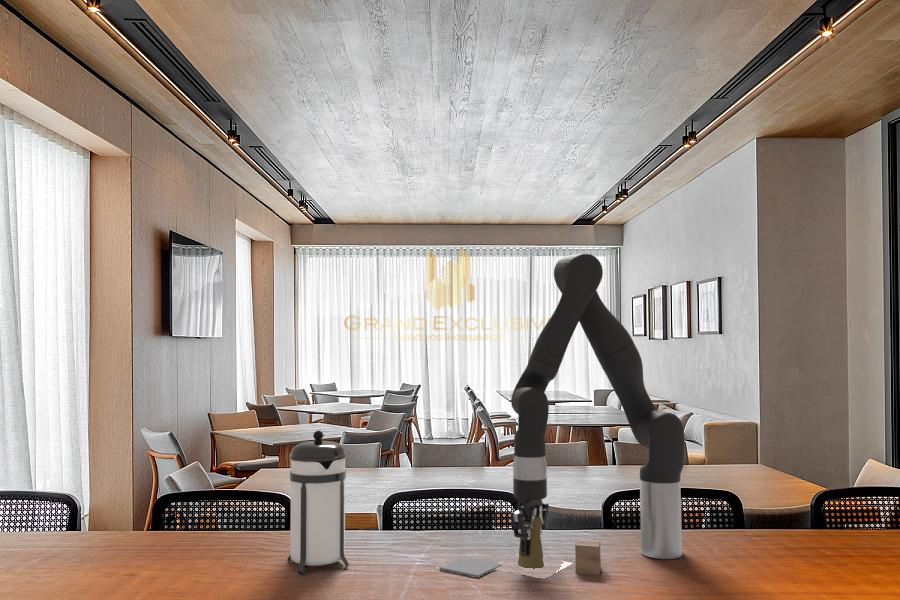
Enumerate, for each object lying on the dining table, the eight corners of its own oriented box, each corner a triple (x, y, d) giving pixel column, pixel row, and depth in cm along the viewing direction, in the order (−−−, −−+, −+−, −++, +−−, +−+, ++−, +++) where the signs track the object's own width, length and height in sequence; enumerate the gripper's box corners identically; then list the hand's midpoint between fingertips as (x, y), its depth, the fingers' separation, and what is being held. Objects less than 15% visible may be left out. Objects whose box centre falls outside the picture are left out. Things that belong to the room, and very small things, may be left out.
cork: (543, 570, 167) (542, 519, 167) (515, 568, 168) (515, 517, 168) (545, 562, 172) (545, 513, 173) (518, 560, 174) (518, 511, 174)
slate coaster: (464, 559, 175) (464, 556, 175) (502, 566, 170) (502, 563, 170) (439, 570, 167) (439, 567, 167) (478, 578, 161) (478, 575, 161)
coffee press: (366, 559, 175) (366, 428, 177) (326, 579, 161) (327, 436, 163) (303, 551, 183) (304, 424, 184) (260, 569, 168) (261, 432, 170)
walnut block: (577, 566, 170) (577, 539, 170) (600, 568, 168) (600, 540, 169) (575, 573, 165) (575, 545, 165) (599, 575, 164) (598, 546, 164)
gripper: (529, 482, 163) (530, 564, 162) (559, 472, 175) (560, 549, 174) (499, 479, 167) (499, 558, 166) (530, 469, 179) (531, 544, 178)
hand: (530, 553), depth 170 cm, fingers closed on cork, 4 cm apart
